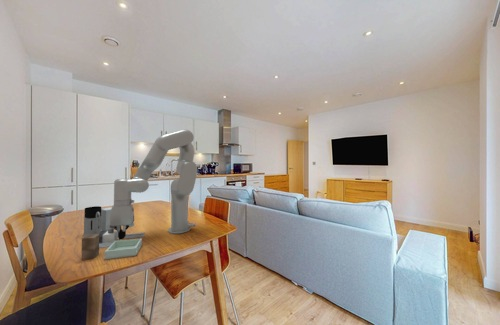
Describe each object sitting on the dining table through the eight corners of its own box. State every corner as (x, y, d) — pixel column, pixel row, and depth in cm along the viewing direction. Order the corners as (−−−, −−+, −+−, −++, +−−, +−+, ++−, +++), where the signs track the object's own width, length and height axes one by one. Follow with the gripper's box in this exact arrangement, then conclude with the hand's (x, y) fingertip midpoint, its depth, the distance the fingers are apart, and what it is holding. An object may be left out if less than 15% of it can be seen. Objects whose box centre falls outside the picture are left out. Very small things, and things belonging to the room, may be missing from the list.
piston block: (118, 239, 103) (118, 227, 103) (114, 244, 97) (114, 230, 97) (107, 240, 101) (107, 228, 101) (102, 245, 95) (102, 231, 95)
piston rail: (144, 236, 109) (144, 227, 109) (140, 243, 98) (140, 233, 98) (102, 240, 103) (102, 230, 103) (92, 248, 92) (92, 238, 92)
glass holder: (99, 230, 117) (99, 205, 117) (108, 235, 109) (109, 208, 109) (80, 234, 110) (80, 208, 110) (89, 240, 102) (89, 211, 102)
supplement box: (119, 228, 121) (119, 207, 121) (105, 231, 115) (105, 210, 115) (113, 226, 125) (113, 206, 125) (99, 229, 119) (100, 208, 119)
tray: (141, 245, 96) (142, 238, 96) (135, 256, 85) (136, 248, 85) (114, 248, 93) (114, 241, 93) (104, 259, 81) (104, 251, 82)
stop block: (98, 254, 87) (99, 233, 87) (94, 258, 82) (94, 237, 82) (86, 255, 85) (87, 234, 85) (81, 260, 81) (81, 238, 81)
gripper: (140, 200, 106) (139, 234, 106) (108, 202, 102) (107, 237, 102) (137, 203, 99) (136, 239, 99) (102, 205, 95) (101, 243, 94)
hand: (121, 238), depth 100 cm, fingers closed
